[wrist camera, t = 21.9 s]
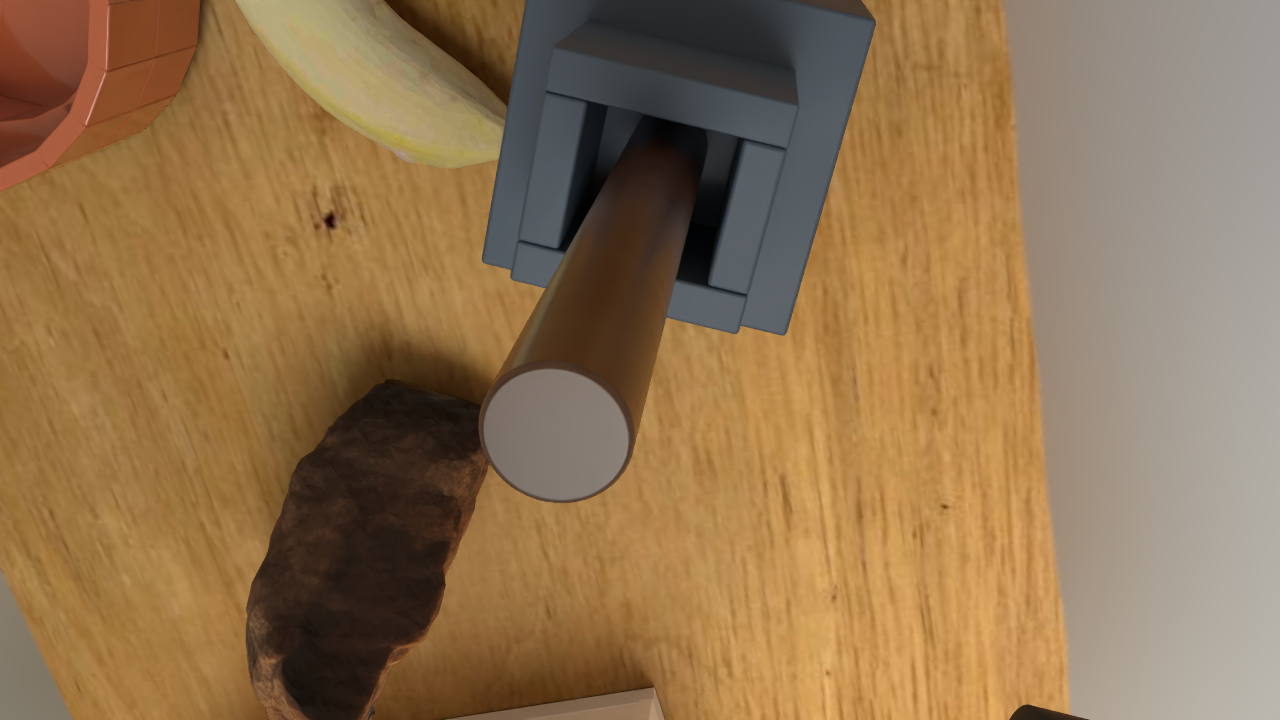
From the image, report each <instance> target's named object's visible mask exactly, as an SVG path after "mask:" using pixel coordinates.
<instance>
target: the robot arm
mask: <svg viewBox="0 0 1280 720" xmlns="http://www.w3.org/2000/svg"><path fill="white" fill-rule="evenodd" d="M1010 720H1088V719H1084V718H1080V717H1076V716H1072V715H1068V714H1064V713H1060V712H1056V711H1052V710H1048V709H1044V708H1040V707H1036V706H1032V705H1028V704H1027V705H1023V706H1021V707H1020V708H1018V709H1017V710H1016V711H1015V712H1014V714H1013V715H1012V716H1011V718H1010Z"/></svg>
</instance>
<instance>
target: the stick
mask: <svg viewBox="0 0 1280 720" xmlns="http://www.w3.org/2000/svg"><path fill="white" fill-rule="evenodd" d="M707 151H708V140H707V135H706V132H705V129H703V128H699V127H694V126H690V125H686V124H682V123H678V122H674V121H669V120H665V119H661V118H657V117H653V116H649V115H645V116H644V117H643V118H642V119H641V120H640V122H639V123H638V125H637V126H636V128H635V130H634V132H633V134H632V135H631V137H630V139H629V141H628V142H627V144H626V146H625V148H624V150H623V151H622V153H621V155H620V157H619V159H618V160H617V162H616V164H615V166H614V167H613V169H612V171H611V173H610V175H609V176H608V178H607V180H606V182H605V184H604V185H603V187H602V189H601V191H600V193H599V194H598V196H597V198H596V200H595V201H594V203H593V205H592V207H591V209H590V210H589V212H588V214H587V216H586V218H585V219H584V221H583V223H582V225H581V226H580V228H579V230H578V232H577V234H576V235H575V237H574V239H573V241H572V243H571V244H570V246H569V248H568V250H567V251H566V253H565V255H564V257H563V259H562V260H561V262H560V264H559V266H558V268H557V269H556V271H555V273H554V275H553V276H552V278H551V280H550V282H549V284H548V285H547V287H546V289H545V291H544V293H543V294H542V296H541V298H540V300H539V301H538V303H537V305H536V307H535V309H534V310H533V312H532V314H531V316H530V318H529V319H528V321H527V323H526V325H525V327H524V328H523V330H522V332H521V334H520V335H519V337H518V339H517V341H516V343H515V344H514V346H513V348H512V350H511V352H510V353H509V355H508V357H507V359H506V360H505V362H504V364H503V366H502V368H501V369H500V371H499V373H498V375H497V377H496V378H495V380H494V382H493V384H492V385H491V387H490V389H489V391H488V393H487V395H486V397H485V399H484V400H483V403H482V406H481V409H480V415H479V427H478V428H479V437H480V441H481V445H482V448H483V450H484V453H485V455H486V458H487V459H488V461H489V463H490V465H491V466H492V467H493V469H494V470H495V472H496V473H497V474H498V475H499V476H500V477H501V478H502V479H503V480H504V481H505V482H506V483H507V484H509V485H510V486H511V487H513V488H514V489H516V490H517V491H519V492H521V493H523V494H525V495H527V496H529V497H532V498H535V499H538V500H542V501H546V502H553V503H570V502H577V501H581V500H585V499H588V498H591V497H593V496H596V495H598V494H599V493H601V492H603V491H605V490H606V489H608V488H609V487H610V486H612V485H613V484H614V483H615V482H616V481H617V480H618V479H619V478H620V476H621V475H622V474H623V473H624V471H625V469H626V468H627V466H628V464H629V462H630V459H631V457H632V453H633V449H634V445H635V441H636V437H637V433H638V429H639V425H640V421H641V417H642V413H643V409H644V405H645V401H646V397H647V393H648V389H649V385H650V381H651V377H652V373H653V369H654V365H655V361H656V357H657V353H658V349H659V345H660V341H661V337H662V333H663V329H664V325H665V321H666V317H667V313H668V309H669V305H670V301H671V296H672V292H673V288H674V284H675V280H676V276H677V272H678V268H679V264H680V260H681V256H682V252H683V248H684V244H685V240H686V236H687V232H688V228H689V224H690V220H691V216H692V212H693V208H694V204H695V200H696V196H697V192H698V188H699V184H700V180H701V176H702V172H703V168H704V164H705V160H706V156H707Z"/></svg>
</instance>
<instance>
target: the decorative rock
mask: <svg viewBox="0 0 1280 720" xmlns="http://www.w3.org/2000/svg"><path fill="white" fill-rule="evenodd" d="M480 409H481V405H478V404H475V403H472V402H469V401H466V400H464V399H461V398H458V397H454V396H450V395H446V394H442V393H437V392H434V391H431V390H428V389H425V388H422V387H419V386H416V385H412V384H408V383H405V382H403V381H402V380H393V379H388V380H386V381H385V383H382V384H378V385H375V386H374V387H373V388H372V390H371V391H370V392H369V393H367V394H366V395H365V396H364V397H362V398H361V399H360V400H358V401H357V402H356V403H354V404H353V405H352V406H351V407H350V408H349V409H348V410H347V411H346V412H345V413H344V414H342V415H341V416H339V417H338V418H337V419H336V421H335V422H334V424H333V425H331V426H330V427H329V428H328V430H327V432H326V435H325V437H324V439H323V440H322V441H321V442H320V444H319V445H318V446H317V447H316V448H315V450H314V451H312V452H311V453H309V454H308V455H306V456H305V457H303V458H302V459H301V460H300V462H299V463H298V465H297V467H296V469H295V471H294V473H293V474H292V477H291V480H290V483H289V489H288V493H287V496H286V498H285V501H284V503H283V508H282V512H281V515H280V517H279V519H278V520H277V522H276V525H275V527H274V530H273V532H272V535H271V538H270V543H269V548H268V552H267V555H266V557H265V559H264V561H263V563H262V565H261V567H260V568H259V570H258V572H257V574H256V576H255V578H254V580H253V582H252V585H251V590H250V594H249V599H248V603H247V607H246V611H247V615H248V617H247V623H246V650H247V660H248V669H249V674H250V679H251V683H252V686H253V689H254V692H255V694H256V697H257V698H258V700H259V701H260V702H261V703H262V704H263V705H264V706H265V709H266V712H267V715H268V720H371V719H372V716H373V714H375V713H374V710H375V706H376V703H377V700H378V697H379V695H380V693H381V691H382V689H383V687H384V685H385V683H386V681H387V678H388V676H389V673H390V671H391V668H392V666H393V664H395V663H397V662H399V661H401V660H402V659H403V658H404V657H405V655H406V654H407V653H408V652H409V651H410V650H411V649H412V648H414V647H415V646H417V645H418V644H420V643H422V642H423V641H424V640H425V637H426V635H427V633H428V631H429V629H430V627H431V624H432V623H433V621H434V620H435V619H436V617H437V616H438V613H439V610H440V606H441V602H442V599H443V595H444V590H445V586H446V584H445V575H446V573H447V571H448V569H449V567H450V565H451V563H452V561H453V559H454V557H455V555H456V553H457V550H458V546H459V542H460V540H461V538H462V537H463V535H464V533H465V531H466V530H467V527H468V525H469V522H470V520H471V517H472V514H473V512H474V509H475V500H476V496H477V494H478V492H479V490H480V487H481V485H482V483H483V481H484V478H485V476H486V473H487V469H488V466H489V461H488V459H487V458H486V455H485V453H484V450H483V448H482V445H481V441H480V437H479V428H478V427H479V415H480Z"/></svg>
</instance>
